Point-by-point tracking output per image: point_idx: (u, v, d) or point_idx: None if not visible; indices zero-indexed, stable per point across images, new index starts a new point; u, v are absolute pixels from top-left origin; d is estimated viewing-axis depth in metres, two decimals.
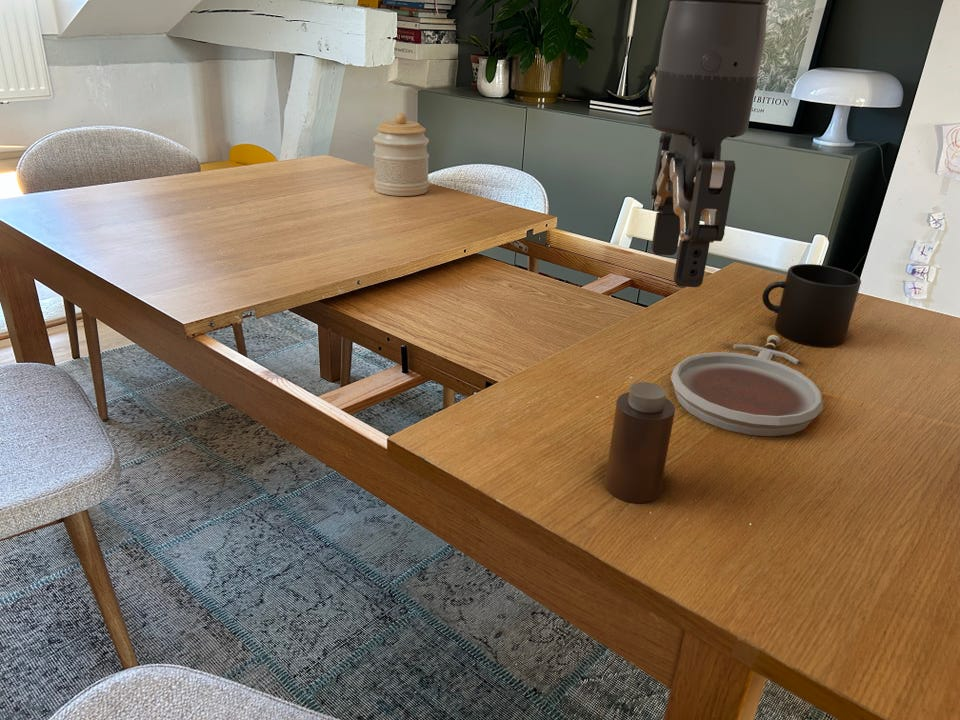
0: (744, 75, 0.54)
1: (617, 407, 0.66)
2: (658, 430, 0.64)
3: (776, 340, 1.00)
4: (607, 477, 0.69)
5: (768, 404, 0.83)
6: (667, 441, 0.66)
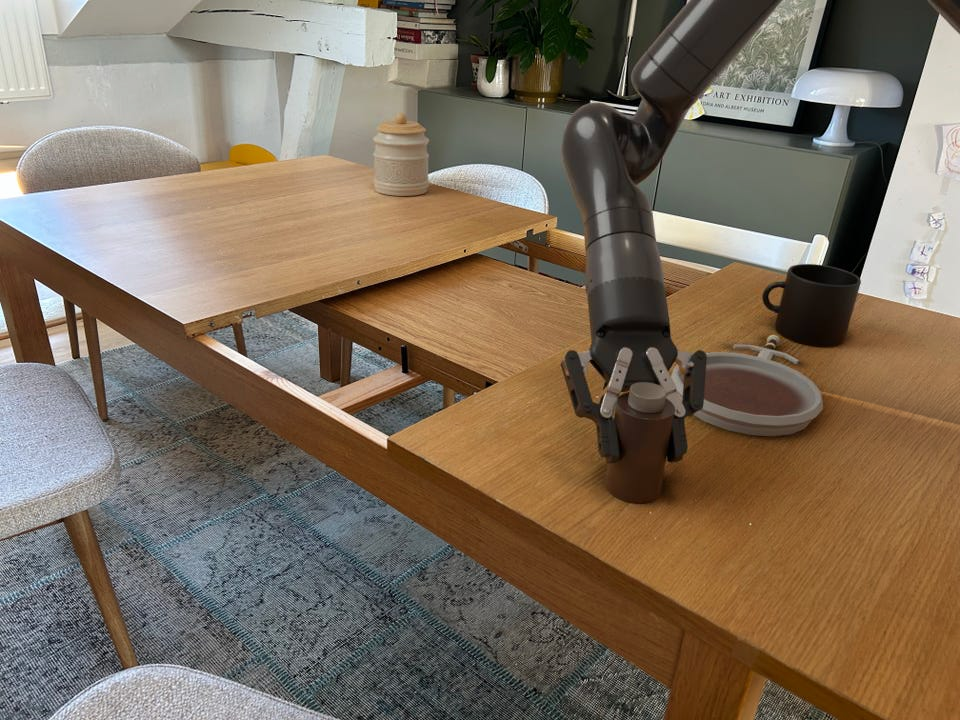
0: (598, 284, 0.70)
1: (617, 407, 0.66)
2: (658, 431, 0.64)
3: (776, 340, 1.00)
4: (607, 477, 0.69)
5: (768, 404, 0.83)
6: (667, 441, 0.66)
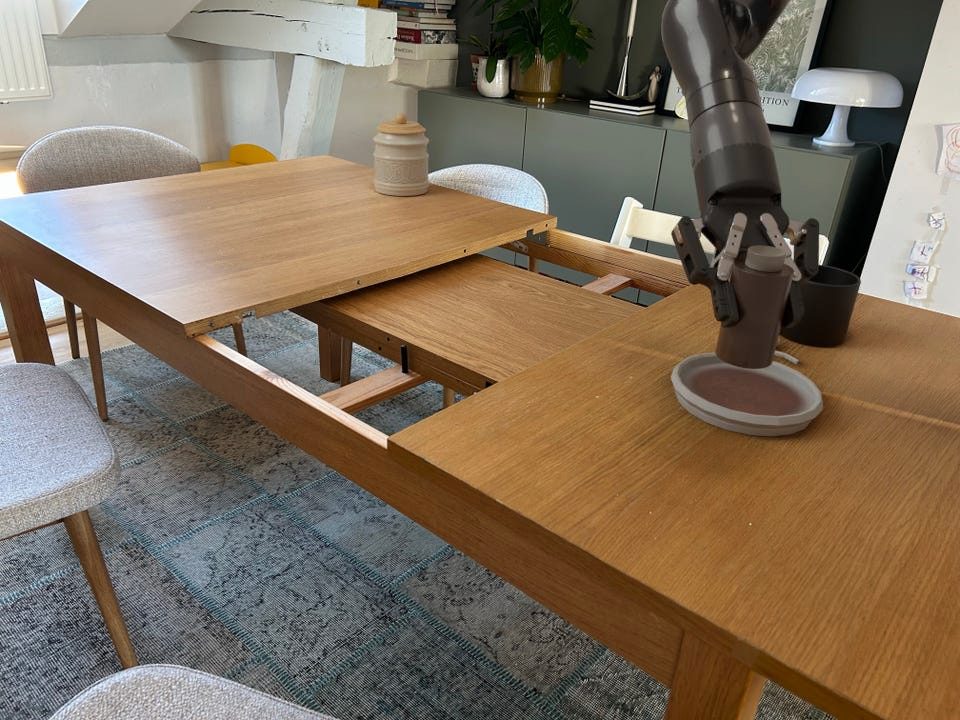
0: (708, 153, 0.69)
1: (735, 268, 0.66)
2: (779, 289, 0.64)
3: None
4: (719, 345, 0.69)
5: (768, 404, 0.83)
6: (785, 303, 0.66)
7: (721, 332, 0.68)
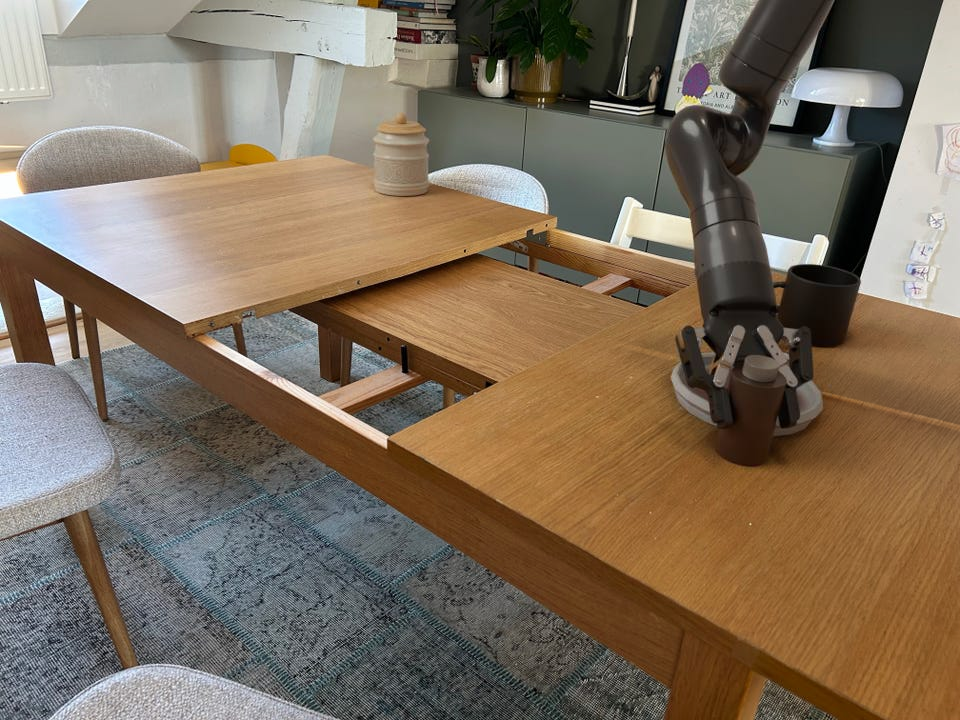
0: (710, 267, 0.76)
1: (733, 377, 0.72)
2: (773, 398, 0.71)
3: None
4: (719, 443, 0.76)
5: None
6: (778, 408, 0.72)
7: (720, 431, 0.75)
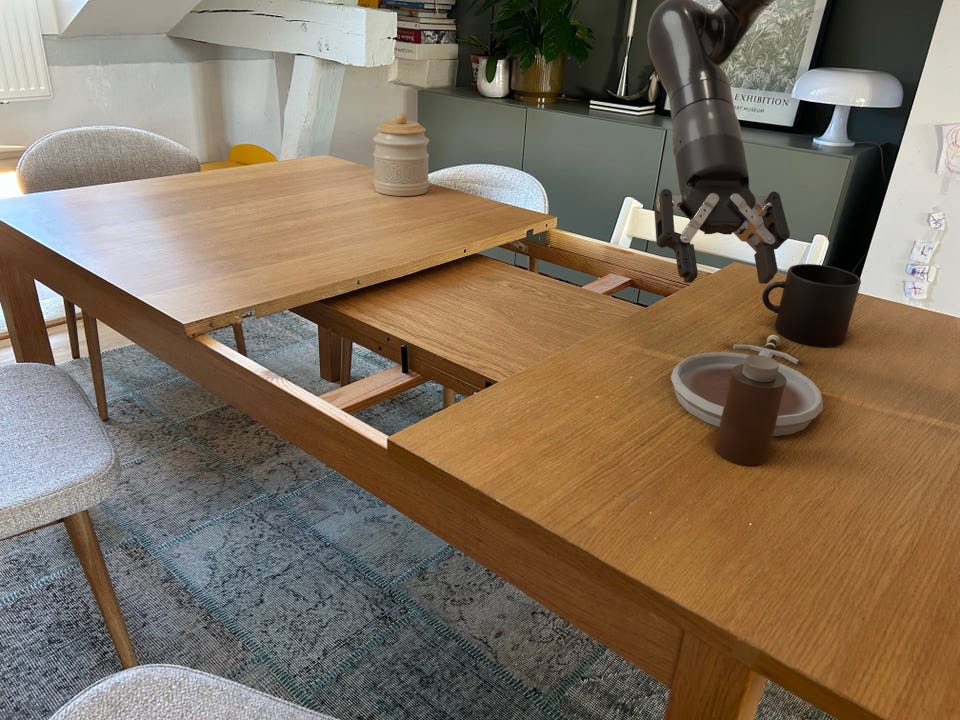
0: (687, 142, 0.82)
1: (733, 377, 0.72)
2: (773, 398, 0.71)
3: (776, 340, 1.00)
4: (719, 443, 0.76)
5: None
6: (778, 408, 0.72)
7: (720, 431, 0.75)
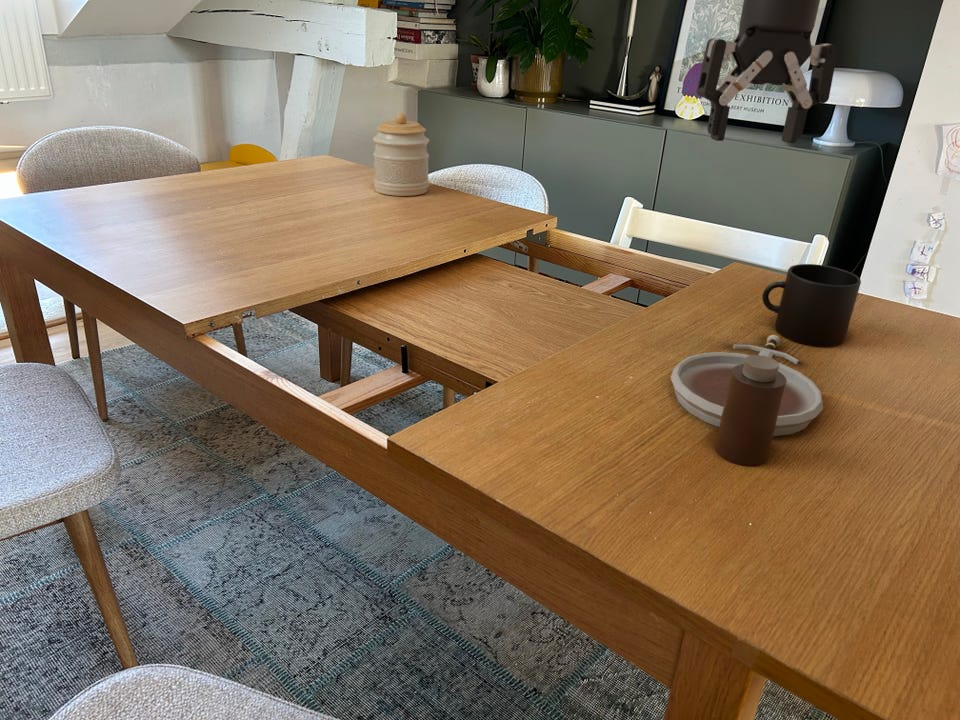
0: None
1: (733, 377, 0.72)
2: (773, 398, 0.71)
3: (776, 340, 1.00)
4: (719, 443, 0.76)
5: None
6: (778, 408, 0.72)
7: (720, 431, 0.75)
